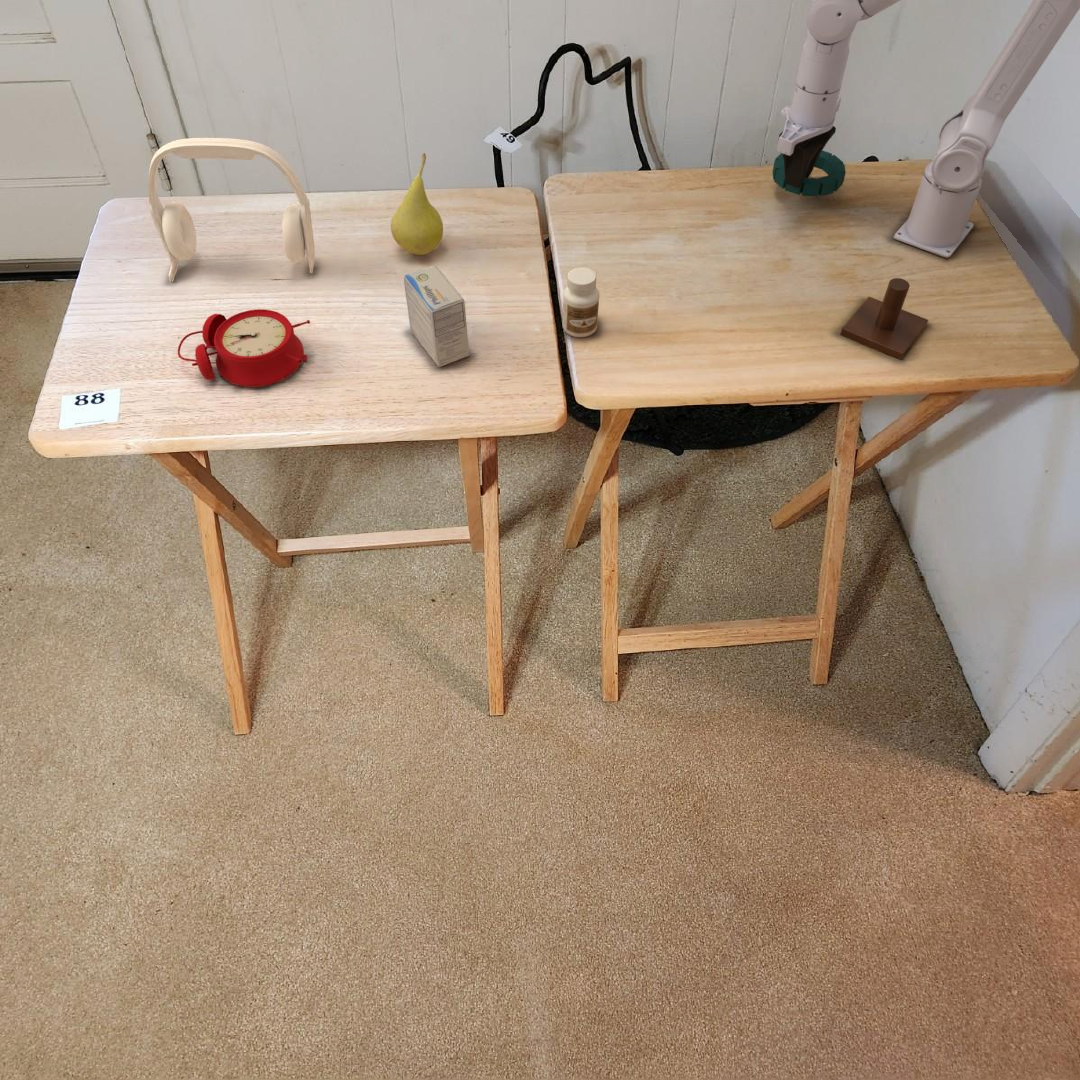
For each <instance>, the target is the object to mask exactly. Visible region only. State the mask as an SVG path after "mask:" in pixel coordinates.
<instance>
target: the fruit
mask: <svg viewBox="0 0 1080 1080" xmlns="http://www.w3.org/2000/svg"><path fill="white" fill-rule="evenodd" d="M421 158H422V159H421V164H420V167H419V170H418V173H417V175H416V176H415V177H414V178H413V179H412V182H411V184H410V186H409V188H408V190H407V192H406V194H405V196H404V198H403V200H402V202H401V204H400V205H399V207H398V208H397V209H396V211H395V212H394V213H393V215H392V217H391V219H390V233H391V235H392V238H393V239H394V241H395V242H396V244H397V245H398V246H399V247H400V248H402V249H403V250H404V251H405V252H407V253H409V254H411V255H416V256H424V255H427V254H430V253H431V252H433V251H434V250H435V249H437V248H438V247H439V245H440V243H441V242H442V240H443V235H444V224H443V220H442V218H441V215H440V213H439V211H438V210H437V209H436V208H435V207H434V206H433V205H432V204H431V203H430V200H429V199H428V195H427V192H426V190H425V185H424V180H423V177H422V176H423V171H424V166H425V164H426V160H427V155H426V153H425V152H423V153H422V154H421Z"/></svg>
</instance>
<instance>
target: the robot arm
mask: <svg viewBox="0 0 1080 1080" xmlns="http://www.w3.org/2000/svg"><path fill="white" fill-rule="evenodd" d="M900 1H901V0H812V2H811V4H810V6H809V8H808V11H807V16H806V26H807V30H806V34H805V42H804V43H803V46H802V49H801V56H800V59H799V60H800V61H799V65H798V70H797V74H796V79H795V84H794V91H793V95H792V100H791V103H790V104H791V105H787V106H785V107H783V108H782V109H781V111H780V116H781V117H782V118H785V124H784V126H783V127H784V128H783V130H782V132H780V133H779V134H778V139H777V146H776V152H777V153H779V154H781V153H782V154H783V158H784V169H785V183H786V184H788V185H791V186H794V187H797V188H799V187H800V185H801V184H802V182H803V180H804V178H810V177H811V174H812V172H813V171H814V168H815V167H814V166H815V164H816V162H817V160H818V158H819V156H820V154H821V152H822V150H823V151H824V148H825V147H826V145H828V142H829V141H830V140H831V138H833V136H834V135H835V134H836V131H837V128H836V127H835V126H834V124H835V120H836V115H837V113H838V112H839V109H840V105H841V101H842V97H841V96H840V93H841V89H842V84H843V81H844V80H843V79H844V76H845V71H846V67H847V63H848V59H849V54H850V43H851V38H852V34H853V32H854V30H855V28H856V25H857V24H858V22H861V21H865V20H866V21H867V20H869V19H870V18H872V17H874V16H876V15H878V14H880V13H881V12H882V11H885V10H887V9H888V8H890V7H891V6H893V5H895V4H897V3H899V2H900ZM1079 10H1080V0H1032V2H1031V4H1030V5H1029V6H1028V8H1027V10H1026V11H1025V13H1024V14H1023V16H1022V17H1021V20H1020V21H1019V22H1018V24H1017V26H1016V28H1015V29H1014V30H1013V32H1012V34H1011V35H1010V37H1009V38H1008V40H1007V42H1006V43H1005V45H1004V47H1003V48H1002V49H1001V51H1000V53H999V54H998V56H997V57H996V59H995V61H994V62H993V64H992V66H991V67H990V69H989V71H988V72H987V74H986V75H985V76H984V79H983V80H982V82H981V83H980V85H979V87H978V88H977V89H976V91H975V93H974V94H973V95H971V96H970V97H969V98H968V99H967V100H966V102H965V103H964V105H963V106H962V107H961V109H960V110H959V111H958V112H956V113H955V114H954V115H952V116H951V117H949V118H948V119H947V120H946V121H945V122H944V123H943V125H942V126H941V129H940V131H939V134H938V143H937V148H936V152H935V156H934V157H933V159H932V160H931V161H930V162H928V163H927V164H926V166H925V169H924V171H923V175H922V178H921V180H920V184H919V187H918V189H917V192H916V194H915V198H914V201H913V204H912V207H911V210H910V213H909V216H908V218H907V219H906V220H905V221H904V223H903V224H902V225H901V226H900V228H899V229H898V230H897V231H896V232H895V233H894V235H893V239H894V240H896V241H899V242H902V243H905V244H907V245H910V246H912V247H915V248H918V249H920V250H924V251H926V252H930V253H932V254H934V255H937V256H940V257H943V258H945V259H947V258H948V259H949V258H950V257H951V256H952V255H953V254H954V252H955V251H956V250H957V249H958V248H959V246H960V245H961V244H962V242H964V240H965V238H966V237H967V236H968V234H969V233H970V232H971V230H972V229H973V228H974V223H973V222H972V221H969V218H970V217H971V216H970V215H971V213H972V211H973V208H974V206H975V203H976V200H977V198H978V195H979V193H980V190H981V188H982V183H983V176H984V173H985V171H986V165H987V163H986V162H987V159H988V158H987V157H988V155H989V153H990V152H991V150H992V149H993V147H994V146H995V143H996V141H997V140H998V137H999V135H1000V132H1001V130H1002V128H1003V126H1004V123H1005V121H1006V120H1007V118H1008V117H1009V115H1010V114H1011V112H1012V111H1013V109H1014V108H1015V106H1016V105H1017V103H1018V102H1019V100H1020V99H1021V97H1022V96H1023V94H1024V93H1025V91H1026V90H1027V88H1028V87H1029V85H1030V84H1031V82H1032V81H1033V79H1034V78H1035V77H1036V75H1037V73H1039V71H1040V69H1041V67H1042V66H1043V65H1044V63H1045V61H1046V60H1047V59H1048V57H1049V55H1050V54H1051V52H1052V51H1053V49H1054V48H1055V46H1056V45H1057V43H1058V42H1059V41H1060V39H1061V38H1062V36H1063V34H1064V33H1065V31H1066V30H1067V28H1068V27H1069V26H1070V24H1071V22H1072V21H1073V19H1074V18H1075V16H1076V14H1077V13H1078V12H1079Z"/></svg>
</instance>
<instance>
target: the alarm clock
mask: <svg viewBox="0 0 1080 1080" xmlns="http://www.w3.org/2000/svg"><path fill="white" fill-rule="evenodd" d="M310 323H311V320H309V319H307V320H306V321H303V322H299V323H296V324H292V322H291V321H290V320H289V318H287V317H286V316H285V315H284V314H282V313H280V312H278V311H275V310H270V309H262V308H261V309H260V308H258V309H249V310H245V311H241V312H239V313H236V314H233V315H232V316H229V317H228V318H226V316H225V315H224V314H222V313H213V314H211V315H209V316H208V317H207V319H205V321H204V323H203V326H202V329H201V330H198V331H193V332H190V333H188V334H186V335H184V336H183V338H182V339H181V340H180V342H179V345H178V347H177V356H178V358H179V359H181V360H183V361H186V362H193V363H191V366H192V367H196V366H197V368H198V371H199V372H200V374H201V376H202V377H203V378H204V379H205V380H208V381H214V380H216V377H215V373H214V369H213V365H212V363H211V359H210V356H214V355H215V366H216V370H217V372H218V373H219V375H220V376H221V377H222V378H223V379H224V380H226V381H227V382H229V383H231V384H234V385H236V386H240V387H246V388H258V387H266V386H269V385H273V384H276V383H279V382H281V381H283V380H285V379H288V377H290V376H291V375H292V374H294V373H295V372H296V371H297V370H298V369H299V367H300V366H301V364H302V363H303V361H305V362H308V361H307V360H308V355H307V354H305V350H304V346H303V343H302V341H301V340H300V339H299V337H298V336H297V335H295V330H294V328H298V327H300V326H304V325H306V324H310ZM197 334H202V335H201V336H202V339H203V342H204V343H201V344H198V345H196V347H195V350H194V353H195V354H194V355H195V357H194V358H186V357H183V356H182V355H181V347H182V345H183V343H184V342H185V340H186V339H188V338H189V337H191V336H193V335H197ZM208 349H212V350H215V351H212V352H209V353H208Z"/></svg>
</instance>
